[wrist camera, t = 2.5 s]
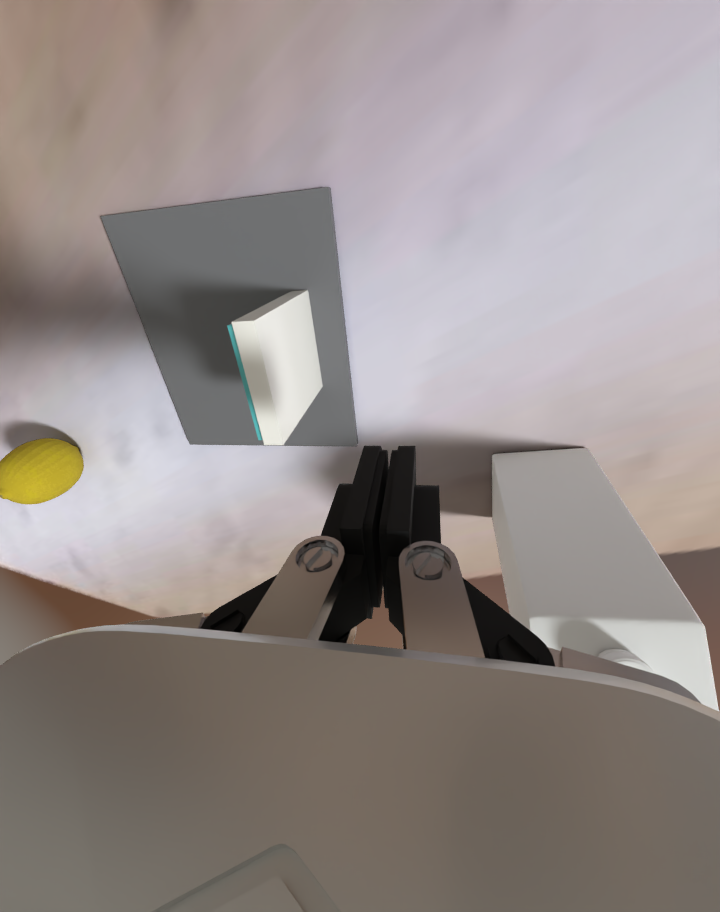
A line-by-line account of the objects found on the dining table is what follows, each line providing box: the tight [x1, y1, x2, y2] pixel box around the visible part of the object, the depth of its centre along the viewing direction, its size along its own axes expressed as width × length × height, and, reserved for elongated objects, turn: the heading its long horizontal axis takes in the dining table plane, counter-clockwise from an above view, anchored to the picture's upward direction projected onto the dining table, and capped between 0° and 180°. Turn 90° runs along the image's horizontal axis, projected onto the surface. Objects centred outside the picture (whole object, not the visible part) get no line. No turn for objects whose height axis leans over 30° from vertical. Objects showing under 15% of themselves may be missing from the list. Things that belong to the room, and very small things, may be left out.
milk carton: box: [492, 448, 719, 711], centre depth 23 cm, size 7×7×19 cm
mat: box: [101, 187, 358, 446], centre depth 28 cm, size 18×16×1 cm
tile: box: [227, 290, 323, 445], centre depth 23 cm, size 7×2×9 cm, turn 5°
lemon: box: [0, 438, 84, 504], centre depth 35 cm, size 6×6×8 cm
